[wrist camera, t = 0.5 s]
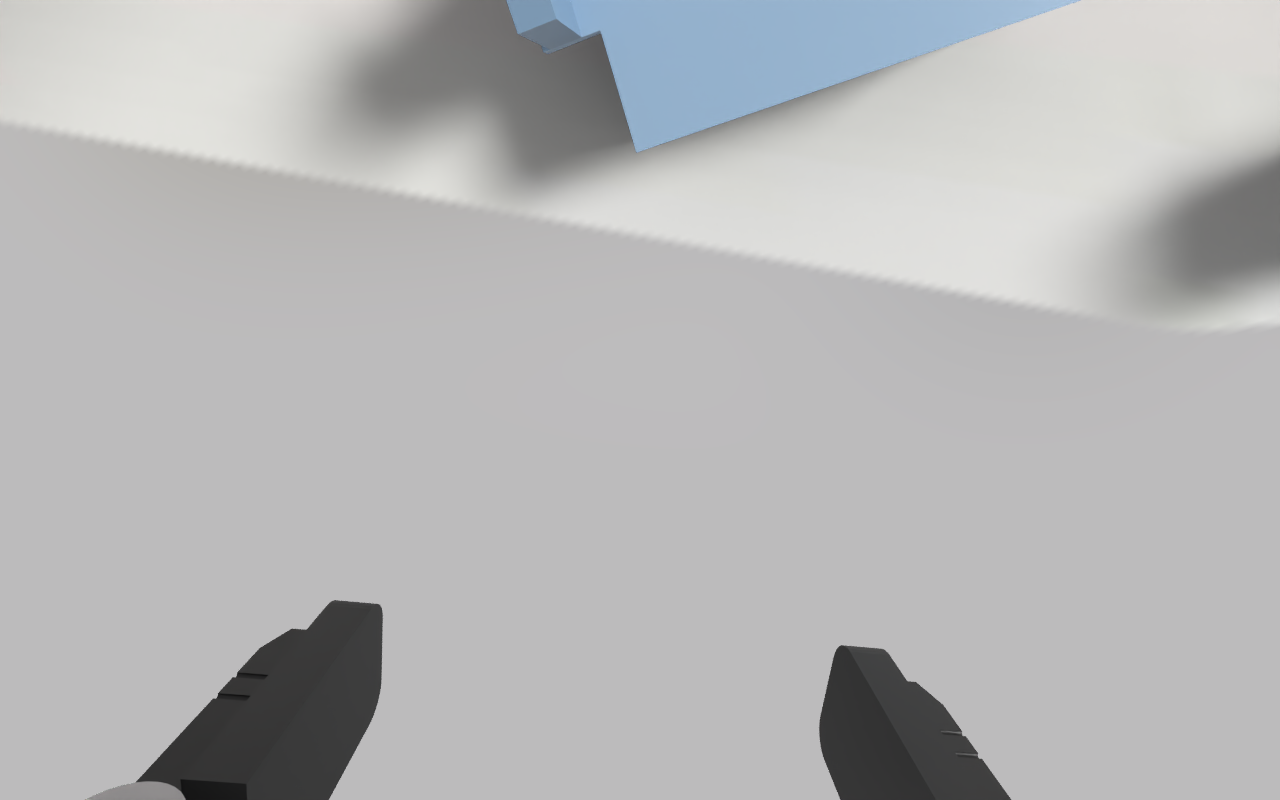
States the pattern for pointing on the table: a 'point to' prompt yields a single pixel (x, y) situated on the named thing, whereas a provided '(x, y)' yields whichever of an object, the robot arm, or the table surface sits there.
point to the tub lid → (750, 48)
